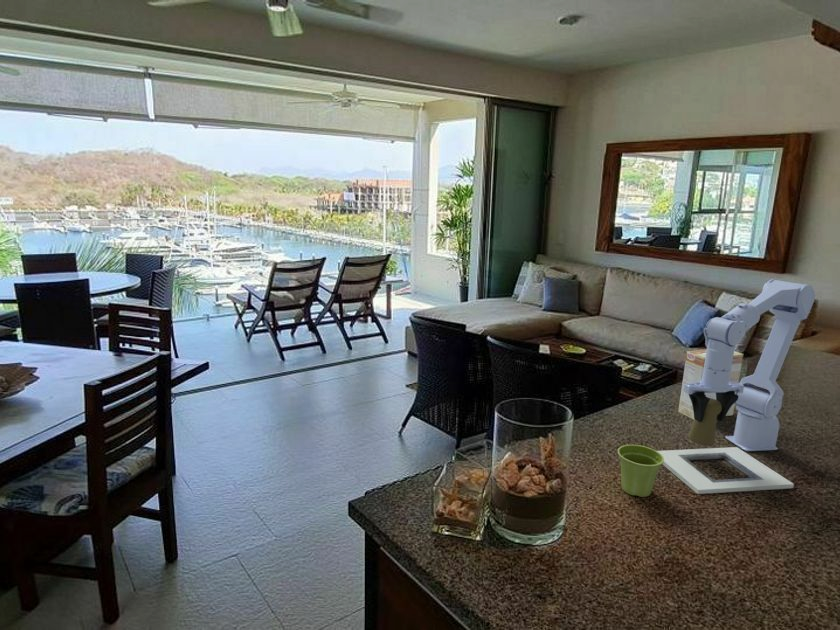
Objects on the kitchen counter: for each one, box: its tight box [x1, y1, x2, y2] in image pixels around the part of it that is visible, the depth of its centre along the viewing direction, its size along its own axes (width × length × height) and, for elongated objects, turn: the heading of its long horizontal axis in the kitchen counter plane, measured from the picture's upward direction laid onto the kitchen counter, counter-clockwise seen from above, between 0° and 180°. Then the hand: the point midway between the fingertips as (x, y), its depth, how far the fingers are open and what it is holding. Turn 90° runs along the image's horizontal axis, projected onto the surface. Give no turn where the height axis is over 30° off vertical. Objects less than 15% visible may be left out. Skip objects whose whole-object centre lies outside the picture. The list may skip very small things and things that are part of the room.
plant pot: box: [617, 444, 664, 498], centre depth 118 cm, size 9×9×9 cm
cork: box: [687, 398, 722, 447], centre depth 133 cm, size 6×6×11 cm
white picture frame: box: [656, 446, 795, 495], centre depth 129 cm, size 24×18×1 cm
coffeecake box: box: [677, 348, 744, 421], centre depth 161 cm, size 15×7×20 cm, turn 108°
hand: (708, 420), depth 132 cm, fingers closed on cork, 5 cm apart
